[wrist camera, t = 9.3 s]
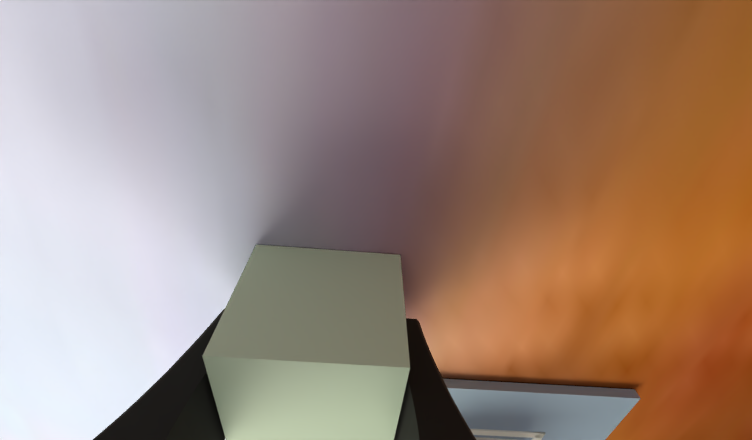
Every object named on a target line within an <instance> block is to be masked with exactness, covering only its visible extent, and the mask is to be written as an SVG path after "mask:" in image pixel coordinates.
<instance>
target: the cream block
mask: <svg viewBox="0 0 752 440" xmlns="http://www.w3.org/2000/svg"><path fill="white" fill-rule="evenodd" d="M475 438H476V440H517V439H499V438H480V437H475Z"/></svg>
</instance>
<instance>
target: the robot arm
mask: <svg viewBox="0 0 752 440" xmlns="http://www.w3.org/2000/svg"><path fill="white" fill-rule="evenodd" d="M224 310H225V309H224ZM224 310H223V311H222V312H221V313H220V314H219V315H218V317H217V318H216V319H215V320H214V321H213V322H212V323H211V325H210V326H209V327H208V328H207V329H206V330H205V331H204V333H203V334H202V335H201V336H200V337H199V338H198V339H197V340H196V341H195V342H194V344H193V345H192V346H191V347H190V348H189V349H188V350H187V351H186V352H185V353H184V354H183V355H182V356H181V357H180V358H179V360H178V361H177V362H176V363H175V364H174V365H173V366H172V367H171V368H170V369H169V370H168V371H167V372H166V373H165V374H164V375H163V376H162V377H161V378H160V379H159V380H158V381H157V382H156V383H155V384H154V385H153V386H152V387H151V388H150V389H149V390H148V391H147V392H146V393H145V394H143V395H142V396H141V397H140V398H139V399H138V400H137V401H136V402H135V403H134V404H133V405H132V406H131V407H130V408H129V409H127V410H126V411H125V412H124V413H123V414H122V415H121V416H120V417H119V418H117V419H116V420H115V421H114V422H113V423H112V424H111V425H109V426H108V427H107V428H106V429H105V430H104V431H102V432H101V433H100V434H99V435H98V436H97V437H95V438H94V439H93V440H224V439H225V435H224V431H223V428H222V424H221V421H220V417H219V413H218V410H217V406H216V403H215V399H214V396H213V392H212V388H211V385H210V381H209V378H208V374H207V371H206V367H205V364H204V360H203V354H204V352H205V349H206V347H207V345H208V343H209V341H210V339H211V337H212V335H213V333H214V331H215V329H216V327H217V325H218V322H219V320H220V318H221V316H222V314H223V312H224ZM406 326H407V337H408V349H409V360H410V371H409V375H408V380H407V384H406V388H405V393H404V397H403V402H402V406H401V411H400V415H399V419H398V424H397V428H396V433H395V437H394V440H476V438H475V437H474V435H473V433H472V432H471V430H470V428H469V427H468V425H467V423H466V422H465V420H464V418H463V416H462V414H461V413H460V411H459V409H458V407H457V405H456V404H455V402H454V400H453V398H452V396H451V394H450V392H449V390H448V388H447V386H446V384H445V382H444V380H443V378H442V376H441V374H440V372H439V370H438V368H437V366H436V364H435V361H434V359H433V357H432V355H431V352H430V350H429V347H428V345H427V343H426V340H425V337H424V335H423V332H422V329H421V326H420V323H419V321H418V320H417V319H406Z"/></svg>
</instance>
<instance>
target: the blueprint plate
mask: <svg viewBox="0 0 752 440" xmlns="http://www.w3.org/2000/svg"><path fill="white" fill-rule="evenodd" d="M443 380H444V382H445V384H446V386H447V388H448V390H449V392H450V394H451V396H452V398H453V400H454V402H455V404H456V405H457V407H458V409H459V411H460V413H461V414H462V416H463V418H464V420H465V422H466V423H467V425H468V427H469V428H470V430H471V432H472V433H473V435H474V437H480V438H499V439H517V440H605V439H606V438H607V437H608V436H609V434H610V433H611V432H612V431H613V430H614V429H615V428H616V426H617V425H618V424H619V423H620V422H621V421H622V419H623V418H624V417H625V416H626V415H627V414H628V412H629V411H630V410H631V409H632V408H633V407H634V405H635V404H636V403H637V402H638V401H639V400H640V397H639V395H638V394H637V392H636V391H635V389H618V388H600V387H583V386H565V385H547V384H529V383H511V382H494V381H476V380H458V379H443Z"/></svg>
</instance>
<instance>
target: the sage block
mask: <svg viewBox="0 0 752 440" xmlns="http://www.w3.org/2000/svg"><path fill="white" fill-rule="evenodd" d="M203 360H204V364H205V367H206V371H207V374H208V378H209V381H210V385H211V388H212V392H213V396H214V399H215V403H216V406H217V410H218V413H219V417H220V421H221V424H222V428H223V431H224V435H225V438H226V440H394V437H395V433H396V428H397V424H398V419H399V415H400V411H401V406H402V402H403V397H404V393H405V388H406V384H407V380H408V375H409V371H410V360H409V349H408V337H407V326H406V314H405V303H404V291H403V280H402V268H401V256H400V255H397V254H383V253H369V252H355V251H341V250H327V249H313V248H298V247H284V246H270V245H256V246H255V248H254V250H253V252H252V254H251V256H250V258H249V260H248V262H247V264H246V266H245V268H244V271H243V273H242V275H241V277H240V279H239V281H238V283H237V285H236V287H235V289H234V291H233V293H232V295H231V298H230V300H229V302H228V304H227V306H226V308H225V310H224V312H223V314H222V316H221V318H220V320H219V322H218V325H217V327H216V329H215V331H214V333H213V335H212V337H211V339H210V341H209V343H208V345H207V347H206V349H205V352H204V354H203Z"/></svg>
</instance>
